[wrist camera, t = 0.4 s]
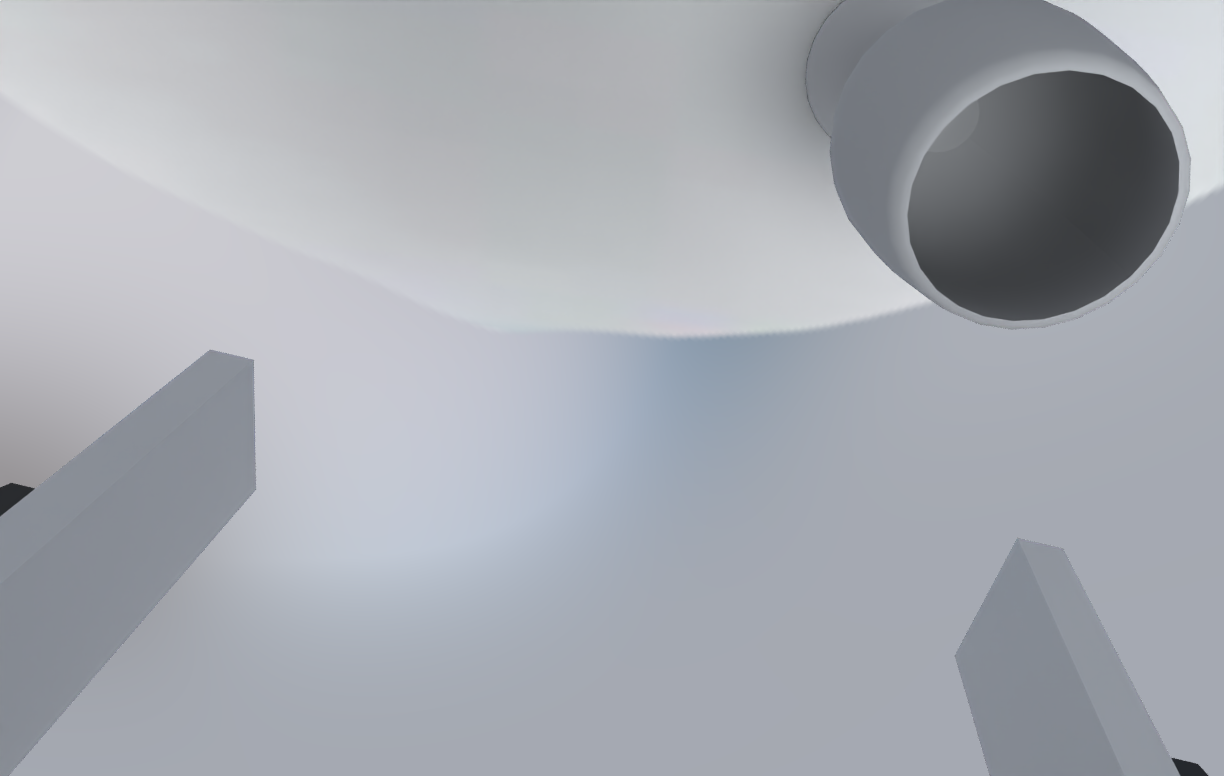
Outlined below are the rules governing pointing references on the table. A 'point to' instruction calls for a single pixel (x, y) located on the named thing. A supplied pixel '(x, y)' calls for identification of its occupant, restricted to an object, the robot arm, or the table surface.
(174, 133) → the table surface
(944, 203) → the wineglass
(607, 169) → the table surface
